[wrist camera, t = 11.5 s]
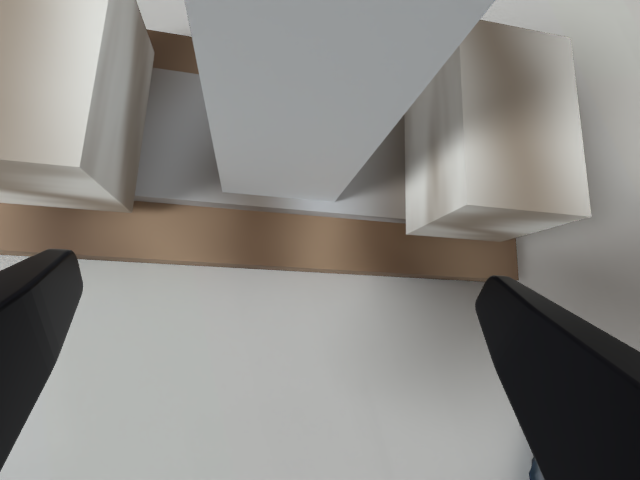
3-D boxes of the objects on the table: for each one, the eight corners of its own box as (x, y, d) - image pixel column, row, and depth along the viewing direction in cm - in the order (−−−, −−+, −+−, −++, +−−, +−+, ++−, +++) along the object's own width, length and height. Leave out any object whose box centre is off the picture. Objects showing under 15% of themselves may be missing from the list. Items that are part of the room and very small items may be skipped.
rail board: (488, 102, 23) (597, 7, 16) (499, 282, 20) (631, 267, 13) (29, 31, 18) (-109, -147, 11) (-20, 253, 16) (-230, 207, 9)
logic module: (334, 202, 17) (525, -37, 5) (222, 192, 16) (160, -123, 4) (336, 103, 18) (502, -280, 6) (231, 89, 17) (199, -390, 5)
